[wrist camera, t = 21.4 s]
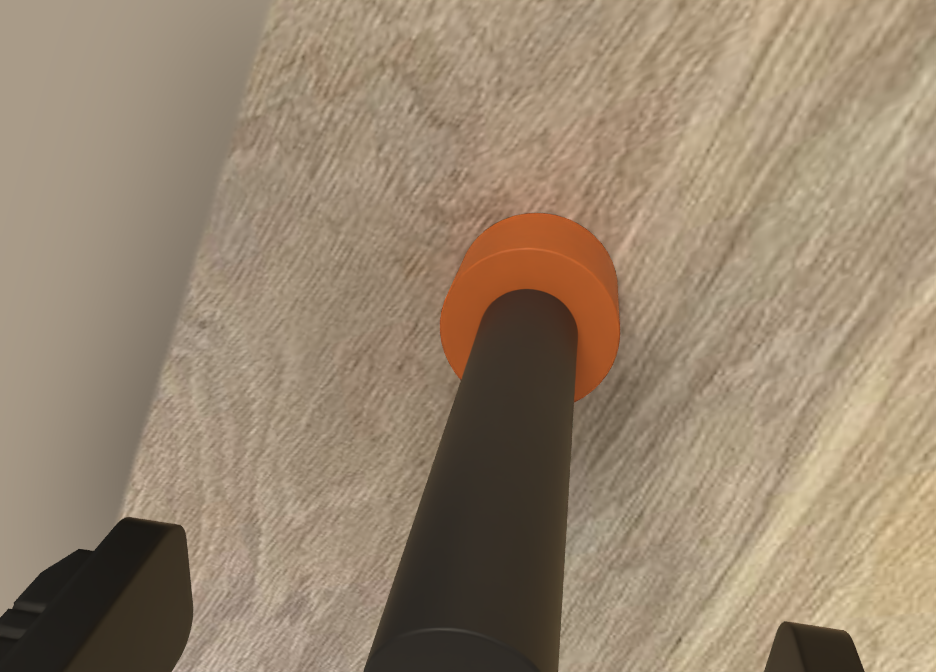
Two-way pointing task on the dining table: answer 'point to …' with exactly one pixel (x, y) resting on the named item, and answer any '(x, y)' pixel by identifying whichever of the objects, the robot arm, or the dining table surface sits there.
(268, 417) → the dining table surface
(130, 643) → the robot arm
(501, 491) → the sponge stick
